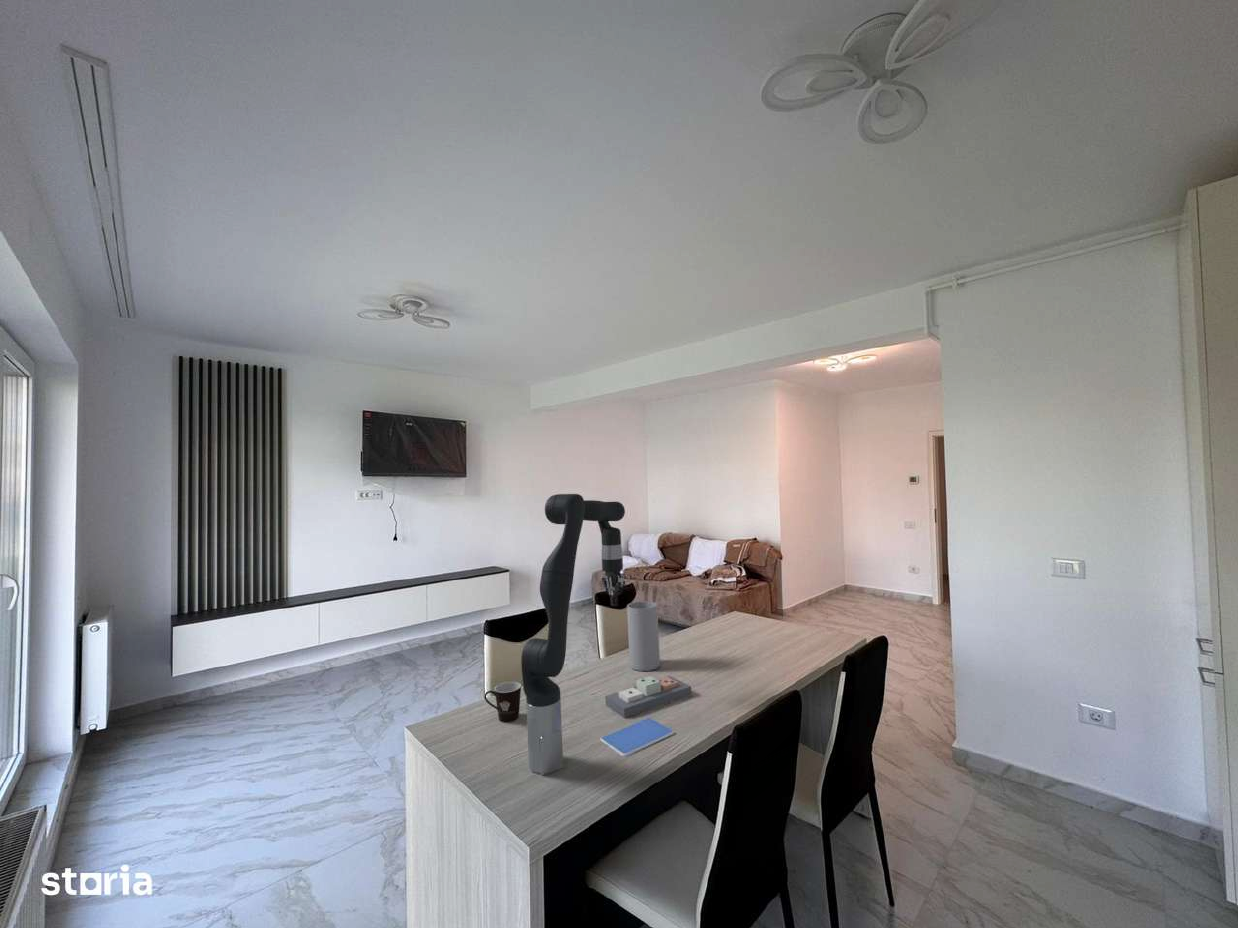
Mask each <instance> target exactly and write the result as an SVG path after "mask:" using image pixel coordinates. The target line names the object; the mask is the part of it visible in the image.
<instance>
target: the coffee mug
mask: <svg viewBox="0 0 1238 928" xmlns="http://www.w3.org/2000/svg"><path fill="white" fill-rule="evenodd" d="M521 692H522V684H521V683H520V682H517V681H506V682H501V683H500V684H498V685H496V686H495V687H494V690H488V691H486V692H485V693H484V701H486V703H488V704H487V705H489V706H491V707H492V708H493V709H495V710H496V711H497V716H498V721H500V722H501V723H503V724H504V723H513V722H515V721H517V720H518V719H519V716H520V707H521V706H520V704H521V703H520V702H521ZM488 694H493V696H494V697H495V701H496V703H495V704H496V705H494V704H493V703H491V702H490V701H489V700H488V699H487V695H488Z"/></svg>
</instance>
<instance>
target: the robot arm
mask: <svg viewBox="0 0 1238 928" xmlns="http://www.w3.org/2000/svg"><path fill="white" fill-rule="evenodd" d="M625 513H626V509H625V506H624V505H623V503H621V502H619V501H601V500H595V499H594V500H592V499H591V500H589V499H588V500H586V499H585V500H584V497H583V496H582V495H581V494H580V493H558V494H553V495H550V496H549V498H548V499H547V500H546V502H545V504H544V514H545V517H546V519H547V520H548V522H550V523H552V524H554V525H564V528H563V533H562V535H561V538H560V540H559V542H558V544H556V546H555V547H554V549H553V550H552V552H550V554H549V556H548V558H546V560H545V562H544V564H543V566H542V569H541V570H542V571H541V577H540V582H539V594H540V598H541V601H542V603H543V604H542V605H543V607H544V609H545V612H546V615H547V621H548V631H547V639H545V638H535V637H534V638H531V639H529V640H527V641H526V643H525V644H524V645H523V648H522V652H521V658H520V659H521V660H520V662H521V663H520V666H521V676H522V677H521V678H522V688H523V693H524V695H525V699H526V722H527V723H526V724H527V725H526V727H527V750H528V768H529V770H530V771H532V772H534V773H536V774H540V775H541V776H544V775H547V774H550V773H552V772H555V771H558V770H560V769H563V768H564V753H563V752H564V749H563V730H562V729H563V727H562V703H561V702H562V701H561V688H560V686H559V685H558V684H557V683H555V682H554V681H553V679H551V678H556V677H557V676H559V675H560V673H561V672H562V670H563V668H564V665H565V660H566V652H567V637H568V636H567V631H568V618H569V617H568V616H569V611H570V603H571V602H570V601H571V595H572V589H573V583H574V582H573V581H574V573H575V567H576V557H577V552H578V545H579V541H580V536H581V532H582V528H583V522H584V521H588V522H597V523H598V524H597V525H598V526H599V530H600V534H601V536H600V537H601V569H602V571H603V572H605V573H604V577H601V581H602V584H603V586H604V589H605V592H606V593H608V595H609V596H610V606H612V607H617V606H618V605H619V598H618V597H619V596H618V595H621V594H622V593H623V590H624V588H625V585H626V581H625V580H622V575H621V571H623V569H624V560H623V559H624V557H623V547H622V536H621V533H622V532H621V530H620V529H619V528H618V527H614V526H611V524H610V522H619V521H621V520H622V519H623V518H624V516H625Z"/></svg>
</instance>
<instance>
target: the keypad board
mask: <svg viewBox="0 0 1238 928" xmlns="http://www.w3.org/2000/svg"><path fill="white" fill-rule="evenodd" d="M666 677H668V678H670V679H672V680H674V681H676V682H678V687H675V688H672V689H669V690H666V691H663V690H661V692H659V693H656V694H652V695H649V696H645V695H643V698H642V699H639V700H636V701H633V702H630V703H627V702H625V701H624V700H622V699H621V698H619V694H618V692H619V691H618V692H614V693H610V694H607V695H605V697H604V698H605V706H606V707H608V708H609V709H610V710H612V711H613V712H615V713H616V714H618V715H619V716H621V717H622V718H624V719H626V718H630V717H632V716H634V715H637V714H642V713H644V712H647V711H649V710H652V709H656V708H658V707H661V706H663V705H667V704H670V703H672V702H675V701H678V700H682V699H684V698H687V697H690V696H692V686H691V685H689V684H687V683H685V682H683V681H681V680H679V679H677V678H675V677H673V676H670V675H668V676H665V677H664V678H666ZM632 688H635V689H636V690H637V685H636V686H634V687H632ZM624 690H625V689H623V690H622V691H624Z"/></svg>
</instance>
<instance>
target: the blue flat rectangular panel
mask: <svg viewBox="0 0 1238 928" xmlns="http://www.w3.org/2000/svg"><path fill="white" fill-rule="evenodd" d="M673 735H675V731H674V730H673V729H671V728H670V727H668V726H666V725H664V724H662V723H660V722H658V721H657V720H654V719H653V718H651V717H647V718H646V717H645V719H642V720H640V721H638V722H635V723H633V724H630V725H627V726H626V727H623V728H621V729H619V730H616V731H614V732H611V733H609V734H606V735H604V736H602V737H600V739H599V740H600V742H602V743H603V745H604V744H605V745H606V746H608V748H610V749H612V750H613V751H614V752H616V753H617V754H618V755H620V756H621V757H623V758H625V757H626V758H627V757H629V756H631V755H633V754H635V753H637V752H639V751H641V750H643V749H645V748H647V747H650V746H651V745H654V744H656V743H658V742H660V741H662V740H664V739H666V738H669V737H670V736H673Z"/></svg>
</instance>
